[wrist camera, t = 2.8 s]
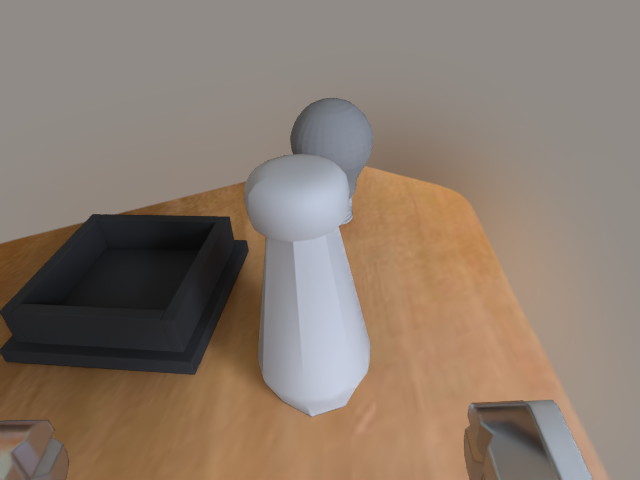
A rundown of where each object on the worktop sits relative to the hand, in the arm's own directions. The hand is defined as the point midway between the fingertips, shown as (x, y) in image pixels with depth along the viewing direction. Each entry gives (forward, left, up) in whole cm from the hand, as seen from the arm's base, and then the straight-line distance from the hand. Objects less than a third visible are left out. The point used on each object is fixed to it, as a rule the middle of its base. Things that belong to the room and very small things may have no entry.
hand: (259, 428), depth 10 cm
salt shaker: (+2, -12, -14) cm, 18 cm away
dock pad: (+15, -18, -13) cm, 27 cm away
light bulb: (+2, -28, -14) cm, 32 cm away
